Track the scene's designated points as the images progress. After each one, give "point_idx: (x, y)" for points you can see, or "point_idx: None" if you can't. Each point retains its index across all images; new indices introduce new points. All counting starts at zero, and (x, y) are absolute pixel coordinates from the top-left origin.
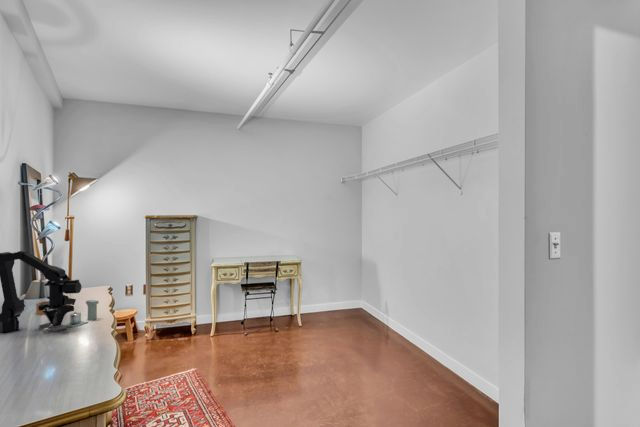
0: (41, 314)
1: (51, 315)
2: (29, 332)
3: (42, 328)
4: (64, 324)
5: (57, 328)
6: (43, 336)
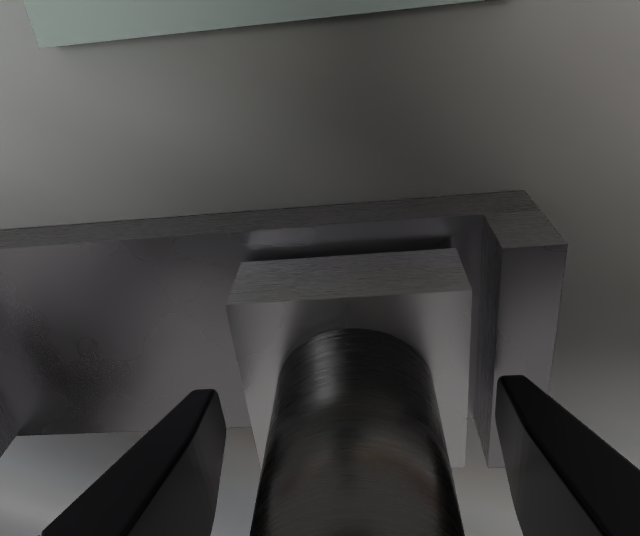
0: None
1: None
2: (46, 507)
3: (76, 426)
4: (52, 1)
5: None
6: (481, 518)
